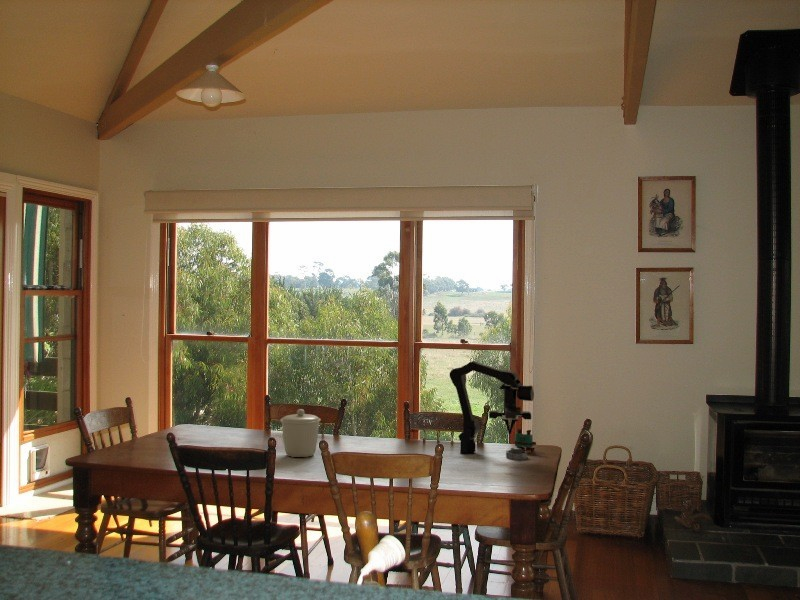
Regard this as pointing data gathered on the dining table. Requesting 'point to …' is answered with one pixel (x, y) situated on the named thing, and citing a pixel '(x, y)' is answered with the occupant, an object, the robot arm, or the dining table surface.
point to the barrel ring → (516, 455)
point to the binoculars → (524, 441)
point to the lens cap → (516, 450)
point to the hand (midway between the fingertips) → (509, 433)
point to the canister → (300, 434)
